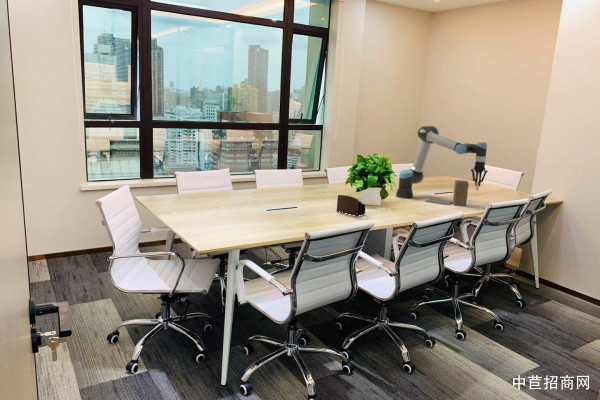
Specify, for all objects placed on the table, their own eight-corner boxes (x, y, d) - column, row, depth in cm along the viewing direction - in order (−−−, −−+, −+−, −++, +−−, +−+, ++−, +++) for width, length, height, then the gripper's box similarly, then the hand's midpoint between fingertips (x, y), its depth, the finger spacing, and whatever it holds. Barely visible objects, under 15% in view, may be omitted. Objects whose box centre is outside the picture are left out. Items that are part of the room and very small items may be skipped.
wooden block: (466, 206, 383) (468, 182, 378) (453, 205, 385) (456, 181, 380) (464, 203, 392) (467, 180, 388) (452, 203, 394) (454, 179, 390)
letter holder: (356, 217, 337) (358, 198, 334) (336, 212, 350) (337, 193, 347) (365, 215, 344) (366, 196, 341) (344, 210, 357) (345, 192, 354)
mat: (425, 201, 395) (425, 200, 395) (431, 198, 409) (431, 197, 408) (449, 205, 385) (449, 204, 385) (454, 202, 398) (454, 201, 398)
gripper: (470, 161, 374) (467, 189, 379) (487, 162, 367) (484, 191, 372) (472, 160, 380) (469, 188, 385) (489, 161, 373) (486, 190, 378)
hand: (477, 189), depth 379 cm, fingers closed
